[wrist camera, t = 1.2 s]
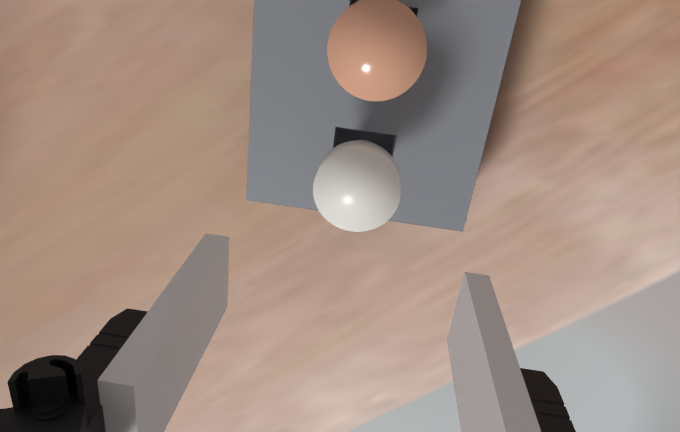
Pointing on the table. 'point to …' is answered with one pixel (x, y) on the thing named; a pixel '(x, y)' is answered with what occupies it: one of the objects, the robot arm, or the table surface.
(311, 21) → the console
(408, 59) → the terracotta plunger
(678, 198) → the table surface
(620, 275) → the table surface
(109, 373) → the robot arm
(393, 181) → the plunger
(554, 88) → the table surface
